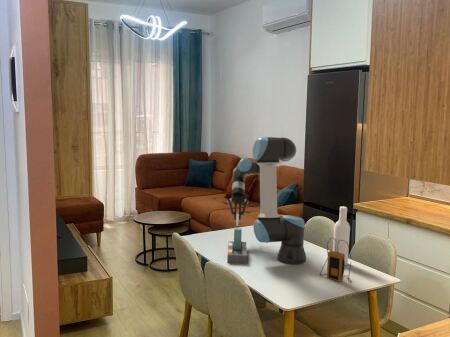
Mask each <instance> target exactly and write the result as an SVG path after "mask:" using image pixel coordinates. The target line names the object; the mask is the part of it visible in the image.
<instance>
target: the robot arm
mask: <svg viewBox="0 0 450 337" xmlns="http://www.w3.org/2000/svg"><path fill="white" fill-rule="evenodd" d="M296 154H297V146H296V144H295V142H294V141H293V140H291V139H289V138H288V137H273V136H272V137H271V136H265V137H264V136H263V137H258V138H256V139H255V141H254V143H253V147H252V158H253V160H255V161H251V160H250V159H248V158H245V157H244V158H241V159H240V160H239V162H238V163H237V166H236V167H235V168H234V169H233V171H232V185H231V197H230V198H227V204H228V206H229V209H230V214H231V215H233V221H235V226H236V227H237V226H238V227H239V225H240V223H239V222H240V221H241V218H242V216H244V215H245V212H246V208H247V205H249V201H250V200H249V199H246V196H245V189H246V186H245V185H246V184H245V182H246V178H247V176H248V175H259V199H260V200H259V201H260V204H259V206H260V213H259V214H258V215H257V219H256V220H254V222H253V225H252V226H253V227H252V228H253V233H254V236H255V239H256V240H257V241H258V242H260V243H266V244H267V243H278V242H279V243H280V242H281V243H280V247H279V249H278V252H277V258H276V259H277V261H279V262H281V263H284V264H290V265H301V264H304V263H306V262H307V255H306V250H305V247H304V243H305V228H306V227H305V226H306V225H305V220H304V219H303V218H302V217H299V216H296V215H288V214H287V215H286V214H284V215H282V217H281V216H280V214H279V213H278V195H277V194H278V190H277V188H278V186H277V185H278V184H277V181H278V180H277V167H278V166H279V165H281V164H283V163H284V162H289V161H291V160H292V159H294V157H295V156H296ZM232 203H233V204H234V207H233V205H232ZM243 203H244V204H243ZM242 204H243V207H242ZM237 205H238V207H237ZM233 208H234V209H233ZM237 208H238V209H237ZM237 210H238V213H237Z"/></svg>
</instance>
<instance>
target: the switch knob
mask: <svg viewBox="0 0 450 337" xmlns="http://www.w3.org/2000/svg"><path fill="white" fill-rule="evenodd" d="M233 230H234V231H233V242H234V243H233V249H236V250H241V242H242V234H243V233H242V230H243V229H242V227H234V229H233Z"/></svg>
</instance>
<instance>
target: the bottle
mask: <svg viewBox="0 0 450 337" xmlns="http://www.w3.org/2000/svg"><path fill="white" fill-rule="evenodd" d="M347 215H348V207H347V206H339V218H338V221H336V222H335V224H334V229H333V246H332V247H333V248H332V251H335V246H336V252H337V247H338V252H339V253H343V254H345V259H344V261H345V265H346V266H348V265H349V264H348V263H349V251H350V250H349V248H350V235H351V234H350V233H351V226H350V223H349V222H348V221H347ZM334 238H335V239H334ZM335 240H336V241H335ZM340 240H344V241H340ZM345 241H346V242H347V243H346V242H345ZM338 242H339V243H338ZM347 244H348V245H347ZM348 246H349V247H348Z"/></svg>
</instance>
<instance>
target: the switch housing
mask: <svg viewBox="0 0 450 337" xmlns="http://www.w3.org/2000/svg"><path fill="white" fill-rule="evenodd" d="M233 243H234V240H233V241H232V240H231V241H228V243H227V244H228V245H227V259H226V260H227V263H228V264H248V247H247V242H246V241H241V250H236V249H233Z"/></svg>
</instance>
